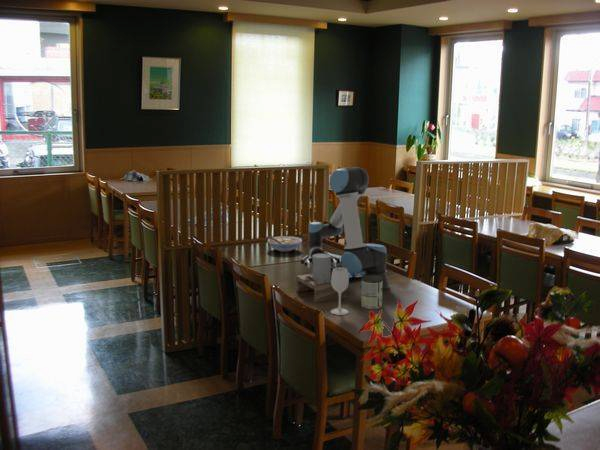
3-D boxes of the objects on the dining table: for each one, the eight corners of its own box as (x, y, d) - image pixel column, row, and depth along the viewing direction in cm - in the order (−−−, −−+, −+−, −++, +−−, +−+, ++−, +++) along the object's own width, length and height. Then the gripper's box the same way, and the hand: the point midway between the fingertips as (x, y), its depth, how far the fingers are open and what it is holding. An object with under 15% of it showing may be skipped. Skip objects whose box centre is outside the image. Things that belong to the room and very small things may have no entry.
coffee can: (359, 302, 313) (360, 274, 310) (380, 302, 313) (381, 274, 310) (362, 309, 303) (362, 280, 300) (383, 308, 303) (384, 280, 300)
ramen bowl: (308, 253, 410) (308, 241, 408) (274, 256, 402) (274, 244, 400) (294, 245, 433) (294, 233, 431) (262, 248, 424) (262, 236, 423)
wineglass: (337, 308, 304) (338, 265, 300) (352, 311, 299) (353, 268, 294) (326, 312, 297) (327, 269, 293) (341, 316, 292) (342, 272, 288)
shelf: (347, 297, 320) (347, 282, 319) (316, 302, 312) (316, 286, 311) (326, 286, 339) (326, 271, 338) (296, 290, 332) (296, 275, 330)
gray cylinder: (329, 282, 319) (329, 258, 316) (310, 280, 321) (310, 257, 318) (332, 276, 328) (332, 253, 326) (314, 275, 330) (314, 252, 327)
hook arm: (334, 285, 319) (334, 281, 319) (323, 287, 317) (323, 283, 316) (319, 278, 333) (319, 274, 332) (309, 279, 330) (309, 276, 330)
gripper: (340, 261, 343) (346, 271, 322) (294, 262, 340) (297, 272, 320) (340, 247, 341) (346, 257, 321) (294, 248, 339) (297, 258, 318)
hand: (322, 265), depth 320 cm, fingers open, 13 cm apart
